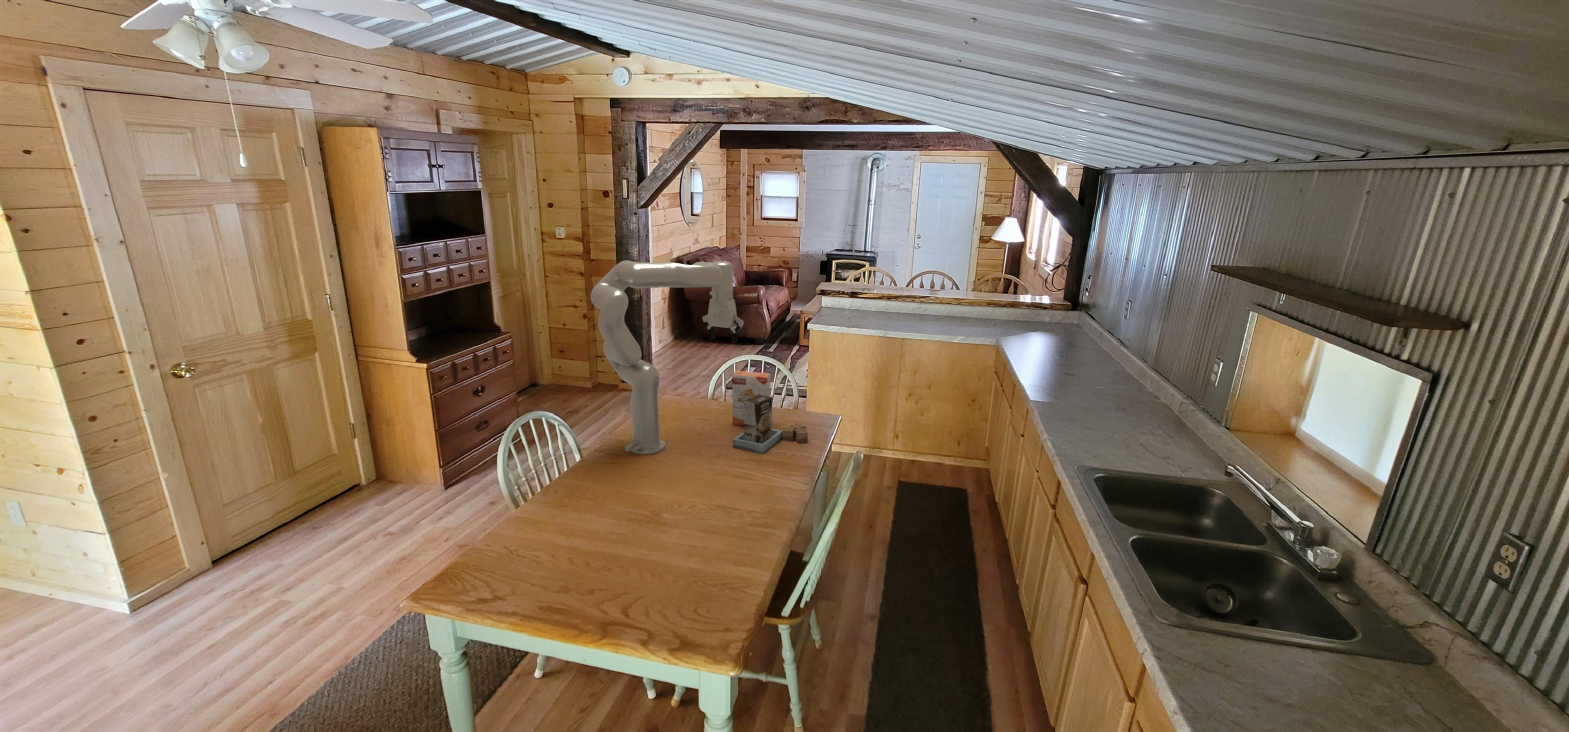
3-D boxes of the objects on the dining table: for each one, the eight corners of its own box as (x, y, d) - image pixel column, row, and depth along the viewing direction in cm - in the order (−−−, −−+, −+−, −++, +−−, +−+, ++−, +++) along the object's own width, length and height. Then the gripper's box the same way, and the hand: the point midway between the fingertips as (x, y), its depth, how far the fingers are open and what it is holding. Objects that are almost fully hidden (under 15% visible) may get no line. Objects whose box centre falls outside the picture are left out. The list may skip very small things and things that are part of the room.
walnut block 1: (792, 441, 238) (792, 431, 237) (782, 440, 239) (782, 430, 238) (794, 437, 242) (794, 427, 241) (784, 436, 242) (784, 426, 241)
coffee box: (757, 446, 231) (757, 403, 226) (743, 441, 234) (743, 400, 230) (772, 438, 238) (772, 396, 233) (758, 434, 241) (758, 393, 237)
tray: (763, 453, 227) (763, 445, 226) (732, 446, 232) (732, 439, 231) (782, 438, 240) (783, 430, 239) (753, 432, 245) (753, 424, 245)
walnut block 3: (807, 442, 237) (807, 432, 236) (797, 443, 236) (797, 433, 235) (804, 438, 241) (805, 428, 240) (794, 439, 240) (794, 429, 239)
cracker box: (732, 425, 252) (731, 374, 246) (736, 419, 258) (735, 369, 252) (766, 428, 249) (767, 377, 243) (770, 423, 255) (770, 372, 249)
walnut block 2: (798, 438, 241) (798, 428, 239) (790, 435, 243) (790, 425, 242) (805, 435, 243) (805, 425, 242) (798, 432, 246) (798, 422, 245)
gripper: (696, 295, 236) (698, 340, 241) (737, 299, 229) (738, 346, 234) (708, 292, 243) (709, 336, 248) (748, 296, 235) (748, 341, 240)
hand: (723, 341), depth 241 cm, fingers open, 9 cm apart
